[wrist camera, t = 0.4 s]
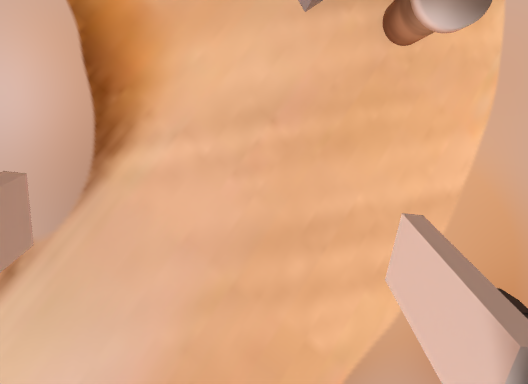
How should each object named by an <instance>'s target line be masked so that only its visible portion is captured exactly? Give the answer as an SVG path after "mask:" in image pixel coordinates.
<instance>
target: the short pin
mask: <svg viewBox="0 0 528 384" xmlns="http://www.w3.org/2000/svg"><path fill="white" fill-rule="evenodd" d="M491 2H492V0H395V1H394V2H393V3H392V4H391V5H390V6H389V7H388V8H387V10H386V11H385V14H384V17H383V29H384V32H385V34H386V36H387V37H388V39H389V40H390V41H392V42H393V43H395V44H397V45H402V46H406V45H410V44H413V43H415V42H417V41H418V40H420V39H422V38H424V37H426V36H428V35H430V34H432V33H433V32H438V33H452V32H455V31H458V30H460V29H462V28H464V27H467V26H469V25H471V24H473V23H474V22H476V21H477V20H479V19H480V18H481V17H482V16H483V15H484V14H485V12H486V11H487V10H488V8H489V6H490V4H491Z"/></svg>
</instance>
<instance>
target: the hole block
mask: <svg viewBox="0 0 528 384" xmlns="http://www.w3.org/2000/svg"><path fill="white" fill-rule="evenodd" d="M321 1H322V0H299V2H300V4H301V6H302V7H303V9H304V11H305V12H306V11H307V10H309V9H310V8H312V7H313V6H315V5H316V4H318V3H319V2H321Z"/></svg>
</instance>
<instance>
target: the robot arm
mask: <svg viewBox="0 0 528 384" xmlns="http://www.w3.org/2000/svg"><path fill="white" fill-rule="evenodd" d="M32 246H33V235H32V225H31V215H30V204H29V194H28V184H27V174H26V173H18V172H7V171H3V172H0V272H1V271H3V270H4V269H5V268H6V267H7V266H9V265H10V264H11V263H12V262H14V261H15V260H16V259H17V258H18V257H20V256H21V255H22V254H23V253H25V252H26V251H27V250H28V249H29V248H31V247H32ZM385 281H386V283H387V284H388V286H389V288H390V290H391V292H392V293H393V295H394V297H395V299H396V301H397V303H398V304H399V306H400V308H401V310H402V312H403V313H404V315H405V317H406V319H407V320H408V323H409V325H410V326H411V328H412V330H413V332H414V334H415V335H416V337H417V339H418V341H419V343H420V345H421V346H422V348H423V350H424V352H425V354H426V355H427V357H428V359H429V361H430V363H431V365H432V366H433V368H434V370H435V372H436V374H437V376H438V377H439V379H440V381H441V383H442V384H528V308H526V307H525V306H524V305H523V304H522V303H521V302H520V301H519V300H518V299H516V298H514V297H513V296H511V295H510V294H508V293H506V292H505V291H503V290H502V289H498V288H496V287H495V286H494V285H493V284H492V283H491V282H490V281H489V280H488V279H487V278H486V277H484V276H483V275H482V274H481V272H480V271H478V269H477V268H476V267H474V266H473V264H471V263H470V262H469V261H468V260H467V259H466V258H465V257H464V256H463V255H462V254H461V253H460V252H459V251H458V250H457V249H456V248H455V247H454V246H453V245H452V244H451V243H450V242H449V241H448V240H447V239H446V238H445V237H444V236H443V235H442V234H441V233H440V232H439V231H438V230H437V229H436V228H435V227H434V226H433V225H432V224H431V223H430V222H429V221H428V220H427V219H426V218H425V217H424V216H423V215H414V214H404V213H402V215H401V219H400V223H399V227H398V231H397V235H396V239H395V243H394V247H393V251H392V255H391V259H390V262H389V266H388V270H387V274H386V278H385Z"/></svg>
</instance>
